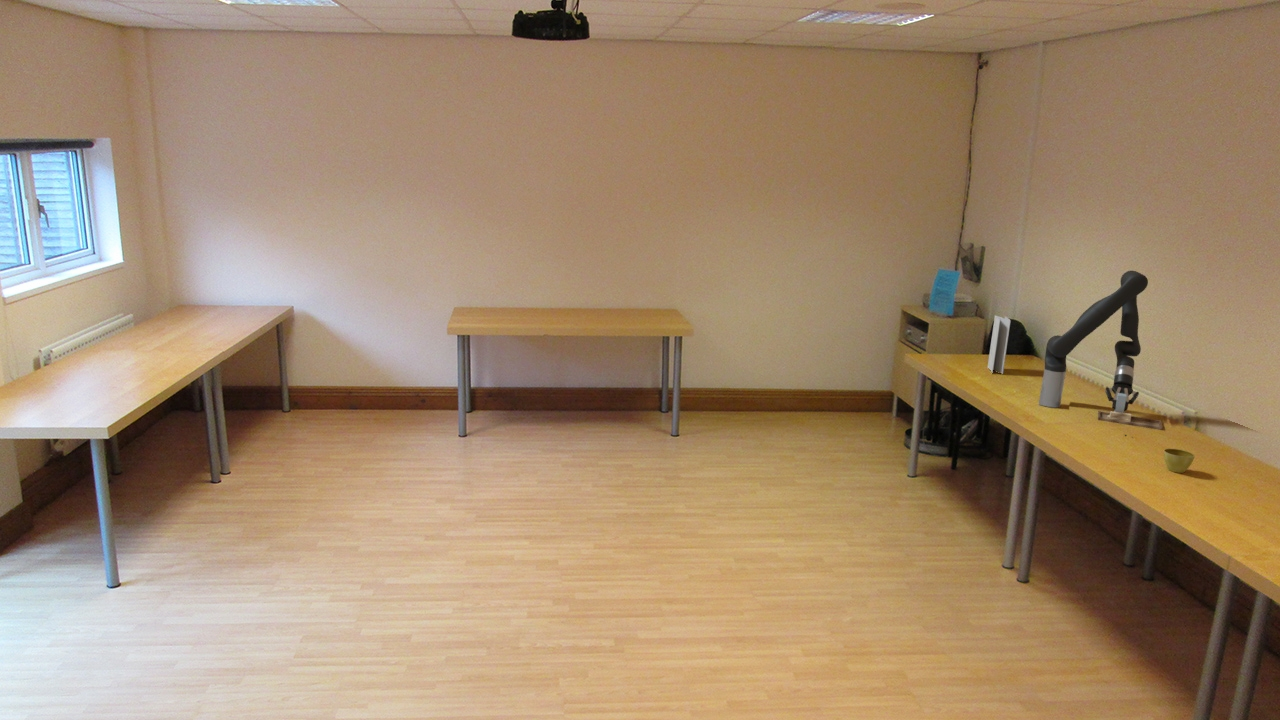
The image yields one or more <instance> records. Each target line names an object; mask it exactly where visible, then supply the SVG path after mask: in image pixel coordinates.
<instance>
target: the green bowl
mask: <svg viewBox="0 0 1280 720" xmlns="http://www.w3.org/2000/svg"><path fill="white" fill-rule="evenodd" d="M1195 457H1196V455H1195V454H1194V453H1192V452H1190V451H1187V450H1183V449H1177V448H1165V449H1163V458H1164V463H1165V465H1166V468H1167V470H1168V471H1170V472H1173V473H1177V474H1183V473H1185V472H1186V471H1187V470H1188V469H1189V468H1190V466H1191V465H1192V463H1193V462H1194V460H1195Z"/></svg>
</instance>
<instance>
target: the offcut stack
mask: <svg viewBox="0 0 1280 720" xmlns="http://www.w3.org/2000/svg"><path fill="white" fill-rule="evenodd" d="M1109 413H1110V415H1107V419H1112V420H1118V421H1125V422H1130V421H1131V416H1132V413H1127V412H1124V413H1121V412H1114V411H1112V410H1110V412H1109Z"/></svg>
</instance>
